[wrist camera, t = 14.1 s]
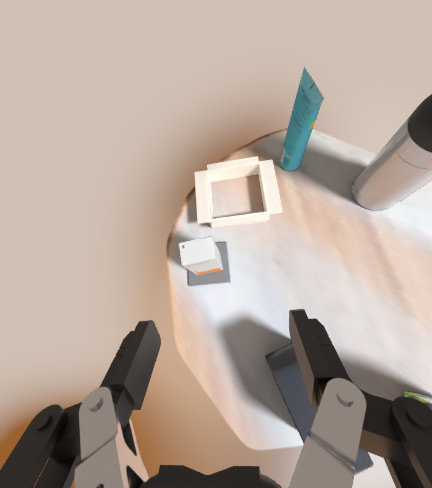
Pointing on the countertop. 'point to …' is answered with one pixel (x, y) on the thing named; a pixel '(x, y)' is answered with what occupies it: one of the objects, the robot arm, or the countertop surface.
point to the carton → (234, 171)
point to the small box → (301, 397)
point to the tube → (301, 122)
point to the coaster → (213, 276)
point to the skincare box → (200, 256)
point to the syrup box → (420, 398)
